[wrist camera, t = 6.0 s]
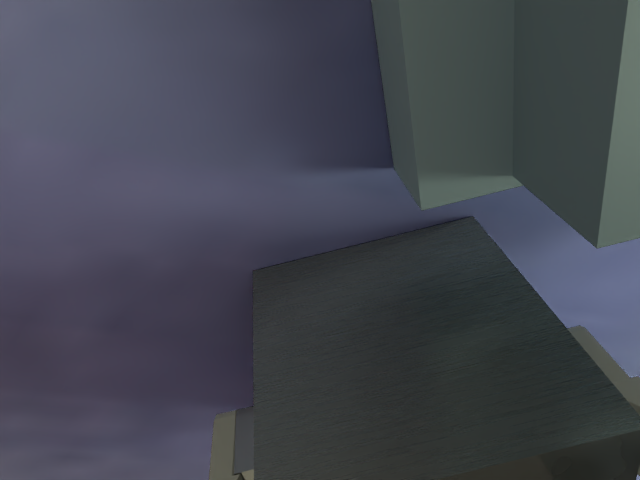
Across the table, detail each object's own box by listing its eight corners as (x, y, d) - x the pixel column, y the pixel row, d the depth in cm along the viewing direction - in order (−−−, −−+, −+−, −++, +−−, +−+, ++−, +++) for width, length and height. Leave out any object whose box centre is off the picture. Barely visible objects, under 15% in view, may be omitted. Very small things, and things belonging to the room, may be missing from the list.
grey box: (479, 370, 14) (631, 649, 9) (303, 412, 14) (339, 719, 9) (473, 216, 11) (696, 483, 6) (252, 270, 12) (254, 592, 6)
